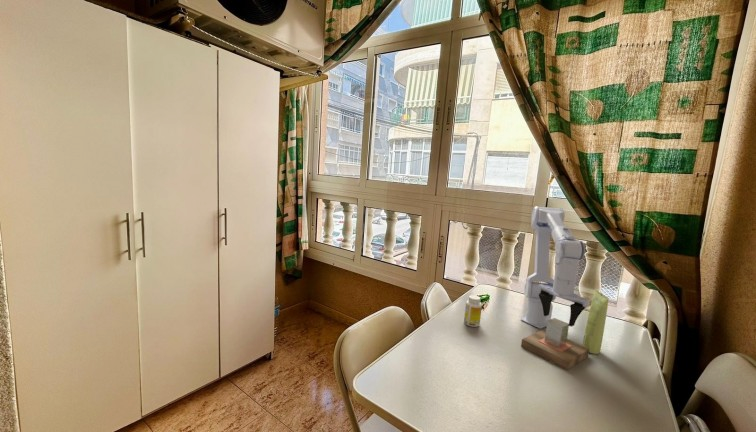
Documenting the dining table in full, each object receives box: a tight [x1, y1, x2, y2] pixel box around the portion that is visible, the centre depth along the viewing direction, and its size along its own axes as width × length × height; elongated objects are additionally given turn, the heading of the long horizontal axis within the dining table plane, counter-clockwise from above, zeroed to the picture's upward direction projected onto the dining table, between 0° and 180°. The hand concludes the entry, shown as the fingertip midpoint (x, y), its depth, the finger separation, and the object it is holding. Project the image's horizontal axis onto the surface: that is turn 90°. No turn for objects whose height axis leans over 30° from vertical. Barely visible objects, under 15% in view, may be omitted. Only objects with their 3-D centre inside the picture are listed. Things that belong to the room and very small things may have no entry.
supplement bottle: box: [463, 294, 483, 328], centre depth 113 cm, size 6×6×10 cm
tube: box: [581, 288, 610, 355], centre depth 100 cm, size 6×5×20 cm
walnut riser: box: [520, 328, 590, 371], centre depth 99 cm, size 14×14×3 cm
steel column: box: [544, 317, 570, 348], centre depth 98 cm, size 4×4×7 cm
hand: (558, 320), depth 98 cm, fingers open, 7 cm apart
